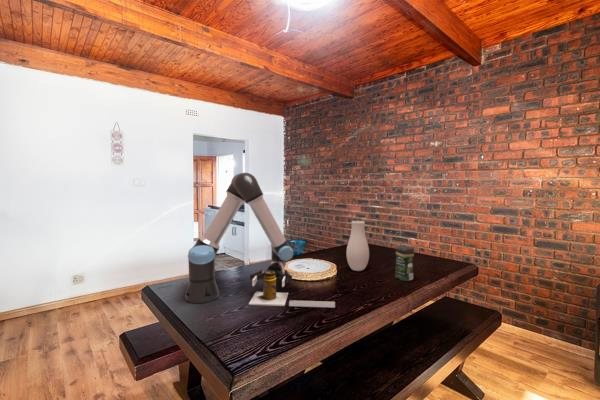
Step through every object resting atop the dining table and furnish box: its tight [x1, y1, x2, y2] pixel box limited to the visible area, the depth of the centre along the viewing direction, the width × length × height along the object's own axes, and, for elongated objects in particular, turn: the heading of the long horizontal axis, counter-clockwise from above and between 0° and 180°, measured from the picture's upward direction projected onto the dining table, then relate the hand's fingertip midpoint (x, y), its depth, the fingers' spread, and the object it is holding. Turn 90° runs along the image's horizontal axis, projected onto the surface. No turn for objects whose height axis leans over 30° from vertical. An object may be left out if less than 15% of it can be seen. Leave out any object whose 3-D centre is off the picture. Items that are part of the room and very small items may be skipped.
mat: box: [248, 291, 289, 307], centre depth 139 cm, size 16×14×1 cm
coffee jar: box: [394, 245, 415, 282], centre depth 166 cm, size 10×8×19 cm
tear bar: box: [288, 299, 336, 308], centre depth 131 cm, size 20×2×2 cm, turn 86°
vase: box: [345, 220, 370, 272], centre depth 183 cm, size 14×14×30 cm
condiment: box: [257, 270, 279, 302], centre depth 138 cm, size 7×8×12 cm
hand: (267, 283), depth 135 cm, fingers open, 13 cm apart
